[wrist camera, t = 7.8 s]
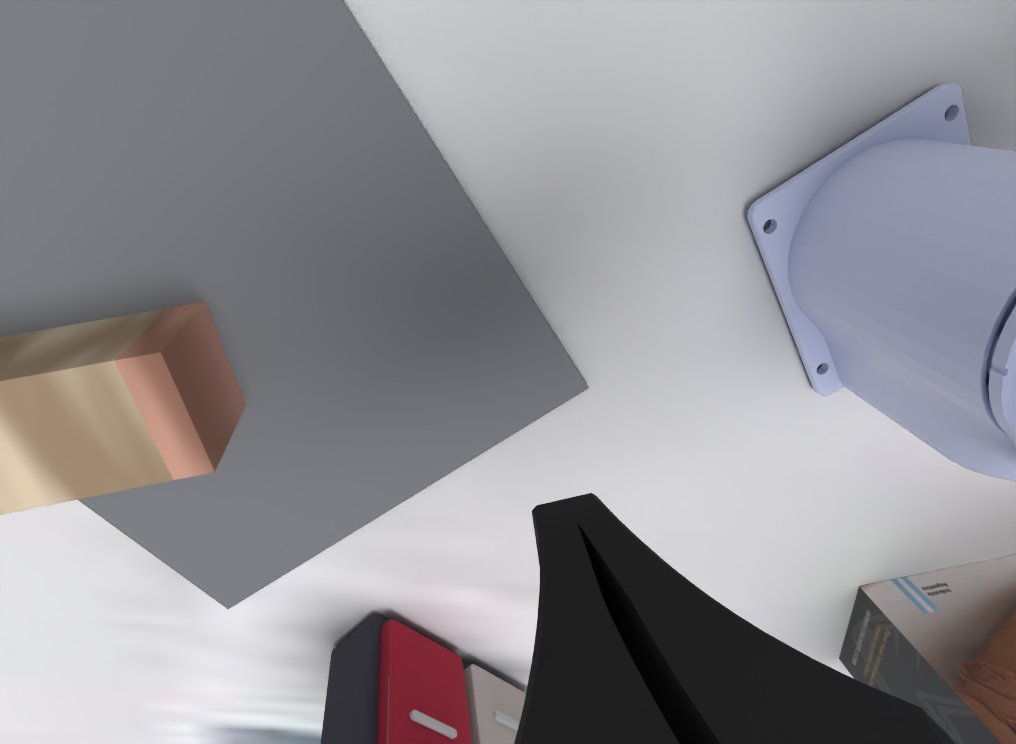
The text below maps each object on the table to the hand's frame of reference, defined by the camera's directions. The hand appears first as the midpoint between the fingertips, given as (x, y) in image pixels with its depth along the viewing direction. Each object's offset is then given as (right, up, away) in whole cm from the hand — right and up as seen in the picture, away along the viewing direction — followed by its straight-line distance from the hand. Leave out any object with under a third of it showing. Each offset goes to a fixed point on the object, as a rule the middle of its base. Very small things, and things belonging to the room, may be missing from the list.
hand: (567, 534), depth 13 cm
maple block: (-11, +3, +6) cm, 12 cm away
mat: (-11, +5, +7) cm, 14 cm away
